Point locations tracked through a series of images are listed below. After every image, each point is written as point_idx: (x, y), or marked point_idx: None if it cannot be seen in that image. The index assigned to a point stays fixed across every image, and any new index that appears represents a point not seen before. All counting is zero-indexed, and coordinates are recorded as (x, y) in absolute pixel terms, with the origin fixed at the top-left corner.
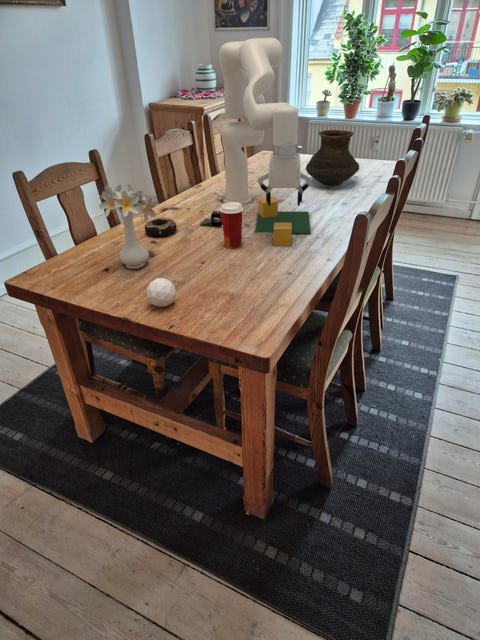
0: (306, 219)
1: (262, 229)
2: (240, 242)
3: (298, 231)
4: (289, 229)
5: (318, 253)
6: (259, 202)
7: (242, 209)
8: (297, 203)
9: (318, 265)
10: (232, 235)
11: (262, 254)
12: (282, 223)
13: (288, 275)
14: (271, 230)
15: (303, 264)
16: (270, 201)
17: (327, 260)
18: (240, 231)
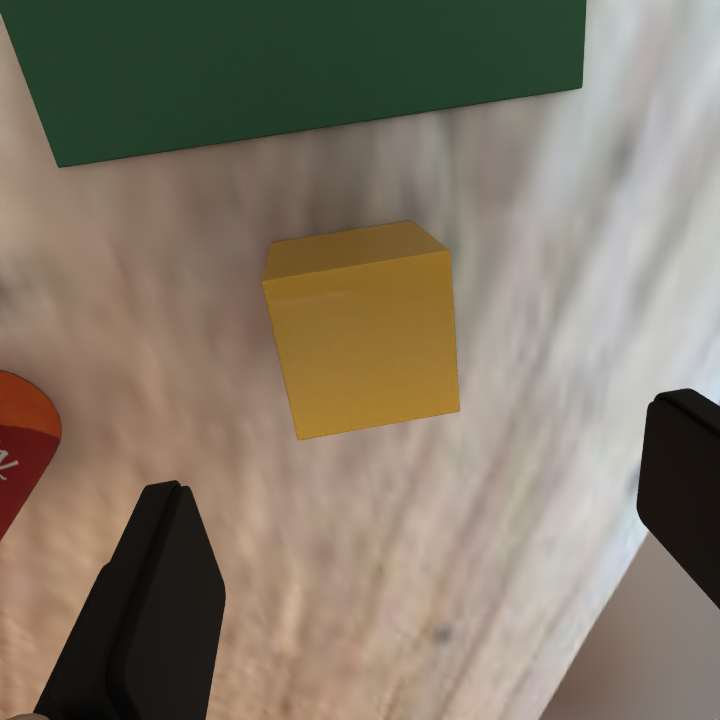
0: None
1: (101, 68)
2: (51, 447)
3: (472, 68)
4: (440, 414)
5: (596, 419)
6: None
7: None
8: (645, 448)
9: (579, 542)
10: None
11: (260, 500)
12: (357, 297)
13: (437, 647)
14: (204, 82)
15: (505, 550)
16: (203, 593)
17: (632, 486)
18: (8, 516)
